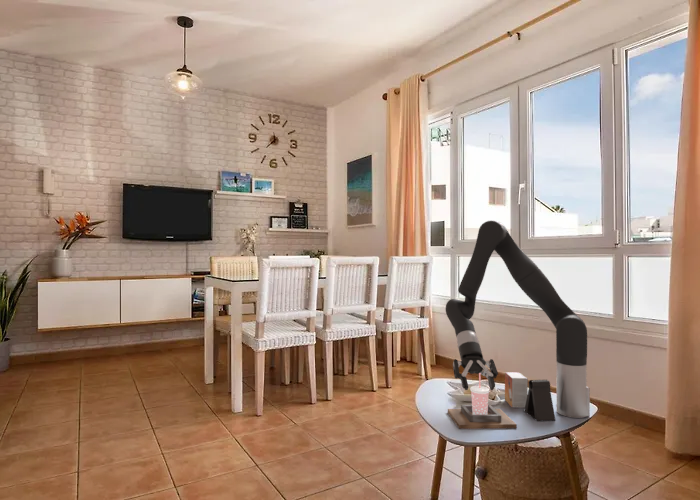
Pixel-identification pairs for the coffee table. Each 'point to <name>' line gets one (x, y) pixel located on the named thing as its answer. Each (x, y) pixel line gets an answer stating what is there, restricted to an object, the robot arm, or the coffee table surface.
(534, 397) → the black tent sign
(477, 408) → the beverage cup
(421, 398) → the coffee table surface
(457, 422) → the walnut socket plate
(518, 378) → the small box
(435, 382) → the coffee table surface
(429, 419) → the coffee table surface
